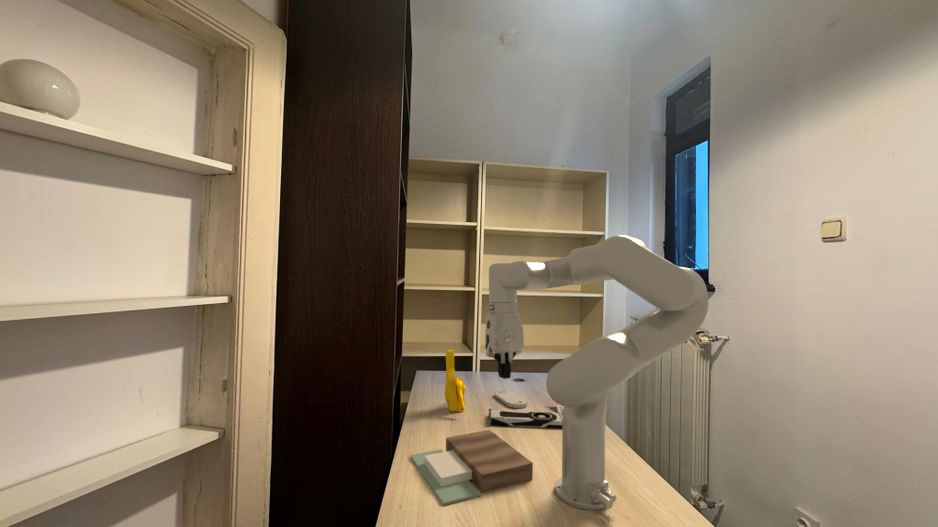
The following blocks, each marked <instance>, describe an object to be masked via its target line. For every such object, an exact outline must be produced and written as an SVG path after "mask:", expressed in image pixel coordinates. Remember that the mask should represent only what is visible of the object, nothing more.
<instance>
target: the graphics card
mask: <svg viewBox="0 0 938 527" xmlns="http://www.w3.org/2000/svg"><path fill="white" fill-rule="evenodd" d="M488 416H489V417H490V419H489V420H490V427H492V426H493V427H494V426H496V427H512V428H528V429H529V428H533V429H556V430H557V429H558V430H562V420H561V417H560V415H559V414H558V412H551V411H525V410H524V411H522V410H505V409H501V408H500V409H499V408H497V409H496V408H488Z"/></svg>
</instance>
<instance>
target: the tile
mask: <svg viewBox="0 0 938 527" xmlns="http://www.w3.org/2000/svg"><path fill="white" fill-rule="evenodd" d="M424 464H425V465H426V466H427V468H428V469H429V471H430V472H431V473H432V475H433V476H434V478H435V479H436V480H437V482H438V483H439V484H440V486H441V487H442V486H447V485H451V484H455V483H459V482H463V481H467V480H469V481H471V479H472V470H471V469H470V468H469V467H468V466H467V465H466V464H465V463H464V462H463V461H462V460H461V459H460V457H459V456H458V455H457V454H456V453H455V452H454V451H453V450H451V451H446V450H445V451H443V452H441V453H436V454H431V455H426V456H424Z"/></svg>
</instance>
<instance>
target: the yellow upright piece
mask: <svg viewBox="0 0 938 527" xmlns="http://www.w3.org/2000/svg"><path fill="white" fill-rule="evenodd" d="M445 352H446V353H445V366H446V370H445V387H444V388H445V389H444V398H445V402H446V404H447V406H448V409H449V412H450V413H454V412H460V413H463V412H464V411H465V406H466V400H465V391H466V388H467V387H466V385H465V382H464V380H463V378H462V377H460V376H457V377H456V370H455V353H454V349H447V350H445Z"/></svg>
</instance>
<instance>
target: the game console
mask: <svg viewBox="0 0 938 527" xmlns="http://www.w3.org/2000/svg"><path fill="white" fill-rule="evenodd" d="M494 397H495V398H496V399H497V400H498V401H500V402H501V403H503V404H505V405H506V406H507V407H509V408H511V409H523V408H526V407H527V405H528V400H527V399H525V398H523V397H522V396H520V395H519V394H517V393H515V392H514V391H512V390H506V389H505V390H504V389H503V390H495V391H494Z"/></svg>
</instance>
